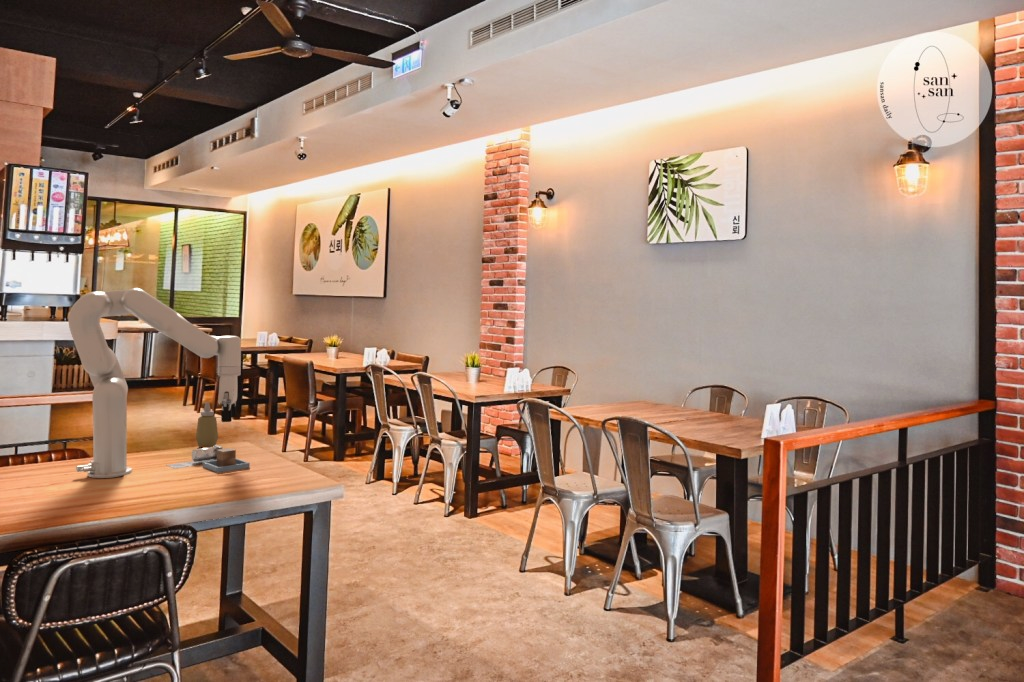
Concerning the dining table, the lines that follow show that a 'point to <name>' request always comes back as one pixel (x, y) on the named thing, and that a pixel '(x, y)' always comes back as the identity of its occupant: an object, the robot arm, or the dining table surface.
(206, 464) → the tray
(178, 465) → the rail
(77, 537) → the dining table surface
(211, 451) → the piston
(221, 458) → the block
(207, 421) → the squeeze bottle
